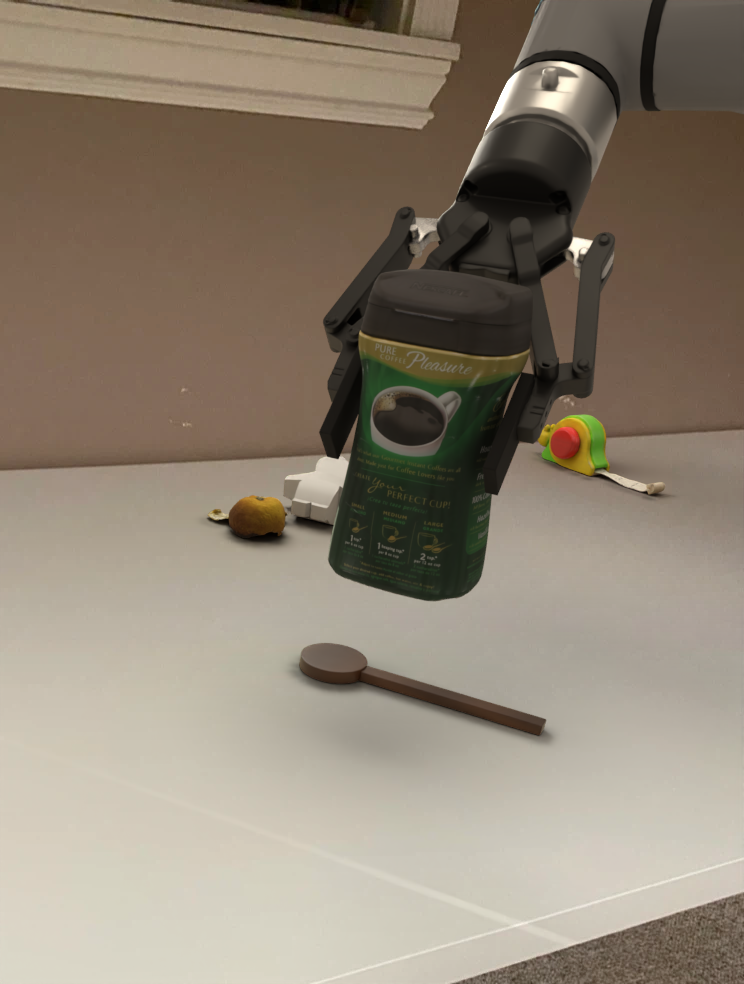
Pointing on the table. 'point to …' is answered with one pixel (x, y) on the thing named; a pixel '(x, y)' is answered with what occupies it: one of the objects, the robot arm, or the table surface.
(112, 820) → the table surface
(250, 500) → the fruit
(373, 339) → the coffee jar
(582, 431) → the toy measuring tape
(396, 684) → the spoon
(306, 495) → the white toy figure
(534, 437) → the robot arm
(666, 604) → the table surface
